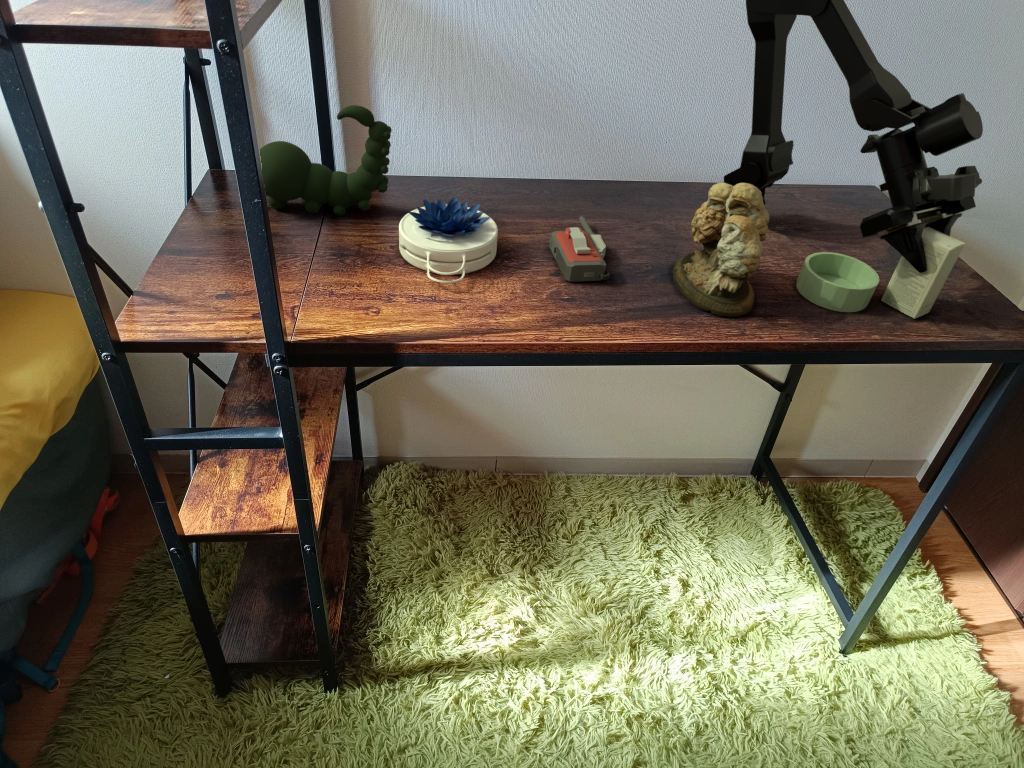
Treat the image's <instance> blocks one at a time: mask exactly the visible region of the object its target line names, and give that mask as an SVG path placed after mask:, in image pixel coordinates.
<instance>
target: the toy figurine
mask: <svg viewBox="0 0 1024 768" xmlns="http://www.w3.org/2000/svg"><path fill="white" fill-rule="evenodd" d="M345 118H350V119H353V120H355V121H356V122H358V123H359V124H360V125H362V126H364V127H367V128H368V130H367V133H368V137H367V138H366V140H365V143H364V149H365V152H363V154H362V156H361V159H360V160H361V161H360V165H359V166H358V167H357V169H356V171H353V172H351V173H347V172H345V171H341V170H335V171H333V170H331V169H330V167H328V166H326V165H324V164H321V163H319V162H312V161H311V159H310V157H309V156H308V154H307V153H306V151H304V150H303V149H302V148H300V146H298V145H296V144H294V143H291V142H289V141H284V140H276V141H272V142H268V143H266V144H265V145H263V146H261V147H260V149H259V150H260V156H261V163H262V171H263V178H264V184H265V191H266V195H265V196H267V203H268V204H269V206H270V207H271V208H273V209H275V210H281V209H283V208H284V207H286V206H287V205H288V202H289V201H290V202H291V201H294V200H298V199H302V201H304V208H305V211H306V212H308V213H310V214H316V213H318V212H319V211H320V210H321V208H322V207H321V206H322V205H325V204H327V205H328V206H329V207H331V208H332V212H333V214H334V215H335V216H337V217H338V216H339V217H341V216H343V215H345V214H346V209H347V208H349V207H351V206H352V205H353V204H356V205H357V206H358V209H359V210H361V211H362V212H365V211H368V210H369V209H370V207H371V204H370V200H371V199H372V196H373V194H372V193H373V192H375V191H378V192H379V193H381V194H382V193H383V194H385V193H386V192H387V191H388V184H389V178H388V177H387V176H386V174H388V173H389V169H390V168H389V167H388V166H389V165H390V161H391V160H390V158H389V157H387V156H389V155H390V153H391V151H390V149H391V146H392V144H391V141H390V139H391V136H392V135H391V134H392V130H393V129H392V127H391V126H389V125H388V124H387V123H386V122H384V121H382V120H377V121H375V115H374V114H373V112H372V111H371V110H369V109H368V108H367V107H365V106H363V105H357V104H352V105H347V106H345V107H342V109H341V110H339V112H337V114H336V119H337V120H338V121H340V120H341V121H342V119H345Z"/></svg>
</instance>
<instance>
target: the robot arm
mask: <svg viewBox="0 0 1024 768" xmlns="http://www.w3.org/2000/svg"><path fill="white" fill-rule="evenodd" d="M745 11H746V19H747V25H748V28H749V30H750V32H751V35H752V37H753V39H754V64H753V66H754V68H753V91H752V112H751V114H752V115H751V132H750V135H749V138H748V140H747V142H746V144H745V146H744V148H743V151H742V155H741V159H740V165H739V167H738V168H736V169H734V170H733V171H730V172H729V173H727V174H725V175H724V176H723V183H727V184H729V185H732V186H735V185H736V184H739V183H748V184H752V185H754V186H755V187H757V188H758V189H759V190H760V191H761V193H762V197H763V203H764V207H765V206H766V203H767V200H766V199H767V198H766V189H767V188H771V187H772V186H773V185H774V184H775V182H777V181H780V180H782V179H783V178H784V177H785V176H787V174H788V172H789V170H790V166H792V165H794V161H793V149H794V140H786V137H785V135H784V134H783V130H782V125H783V111H784V110H783V109H784V108H783V107H784V91H785V75H786V62H787V61H786V60H787V46H788V45H787V44H788V37H789V34H790V32H791V30H792V28H793V26H794V24H795V22H796V19H797V17H798V16H805V17H810V18H811V19H812V21H813V23H814V24H815V26H816V28H817V30H818V32H819V34H820V36H821V37H822V39H823V41H824V43H825V45H826V46H827V48H828V50H829V52H830V53H831V55H832V57H833V59H834V60H835V62H836V64H837V66H838V67H839V68H838V69H840V71H841V73H842V75H843V76H844V78H845V80H846V83H847V86H848V92H849V93H848V94H849V95H848V96H849V104H850V107H851V111H852V113H853V116H854V119H855V121H856V124H857V126H859V128H861V129H862V130H863V131H867V132H879V131H882V130H884V129H892V130H889V131H887V132H885V133H883V134H880V135H879V134H877V133H876V134H868V135H867V139H866V141H865V142H864V144H863V145H862V147H861V148H860V150H859V151H860V153H861V154H871V153H876V155H877V158H878V161H879V165H880V169H881V172H882V176H883V179H884V182H883V183H882V184H879V189H880V192H881V193H882V192H885V191H887V193H888V196H889V197H888V198H889V200H890V203H891V207H889V208H886V209H883V210H881V211H878V212H876V213H873V214H871V215H868V216H866V217H863V218H862V220H861V222H860V224H859V230H860V233H861V237H862V239H865V238H870V237H873V236H876V235H879V233H881V232H884V231H886V234H883V235H880V236H879V239H880V240H881V241H882V240H884V241H885V242H886V243H887V244H889V245H890V246H891V247H892V248H893V249H894V250H895V251H897V252H898V253H899V254H900V255H901V256H903V257H904V258H905V259H906V260H907V261H908V262H909V263H910V264H911V265H912V266H913V267H914V268H915V269H916V270H917V271H918V272H919V273H922V272H926V271H927V262H926V256H925V251H924V246H923V241H922V232H923V230H924V228H926V227H930V228H932V229H934V230H936V231H939V232H941V233H943V234H945V235H948V236H950V237H951V231H952V228H953V226H954V225H955V223H956V222H957V220H958V219H959V218H961V217H962V216H963V212H966V211H969V210H971V209H975V208H976V207H977V206H976V201H975V198H974V197H976V188H977V187H979V185H981V184H982V183H983V179H982V178H981V177H980V172H979V171H978V169H977V166H976V165H964V166H959V167H957V169H955V172H954V173H950V174H942V175H940V173H939V170H938V168H937V167H935V166H930V167H929V166H928V164H927V160H926V157H925V154H928V153H929V154H931V155H932V156H934V157H938V156H940V155H943V154H945V153H948V152H950V151H953V150H956V149H957V148H959V147H963V146H965V145H967V144H970V143H972V142H975V141H976V140H979V139H981V137H982V136H983V134H984V133H983V131H984V126H983V119H982V117H981V114H980V112H979V111H977V110H976V108H975V106H974V105H973V104H972V103H971V101H969V100H967V98H966V95H965V93H964V92H961V93H958V94H955V95H953V96H951V97H949V98H947V99H946V100H945V101H943V102H942V103H940V104H937V105H935V106H933V107H929V106H927V105H925V104H923V103H921V102H919V101H917V100H916V99H913V98H912V95H911V93H910V92H909V90H908V89H907V88H906V87H905V86H904V85H903V83H902V82H901V81H900V80H899V79H898V77H896V76H895V75H894V74H893V73H891V71H888V70H887V69H886V68H885V67H883V65H882V64H881V63H880V61H879V60H878V59H877V57H876V54H875V53H874V51H873V50H872V47H871V46H870V44H869V43H868V41H867V39H866V37H865V36H864V33H863V31H862V30H861V28H860V26H859V25H858V23H857V21H856V19H855V17H854V15H853V14H852V12H851V11H850V9H849V7H848V6H847V3H846V1H845V0H745ZM912 124H914V126H912V127H909V128H907V129H905V130H903V129H901V128H905V127H907V126H909V125H912ZM919 221H920V222H919Z"/></svg>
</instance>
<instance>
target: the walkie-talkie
mask: <svg viewBox="0 0 1024 768" xmlns="http://www.w3.org/2000/svg"><path fill="white" fill-rule="evenodd" d="M578 220H579V222H580V224H581V225H582V227H583V228H581V227H579V226H576V227H575V226H574V227H573V226H572V227H566V228H565V230H555V231H552V232H551V234H550V238H549V249H550V251H551V253H552V255H553V257H554V259H555V261H556V263H557V266H558V268H559V270H560V272H561V274H562V276H563V278H564V280H565V281H567V282H570V283H575V282H579V283H580V282H600V281H602V280H604V281H607V280H609V279H610V275H611V273H610V272H609V270H608V268H607V262H606V261H605V260H604V258H605V256H606V253H607V252H606V251H607V245H606V243H605V241H604V240H603V236H602V235H601V234H596V233H595V232H594V231H593V229H592V228H591V226H590V224H589V222H588V221H587V219H586V217H585V216H584V215H580V216H579V217H578Z"/></svg>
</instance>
